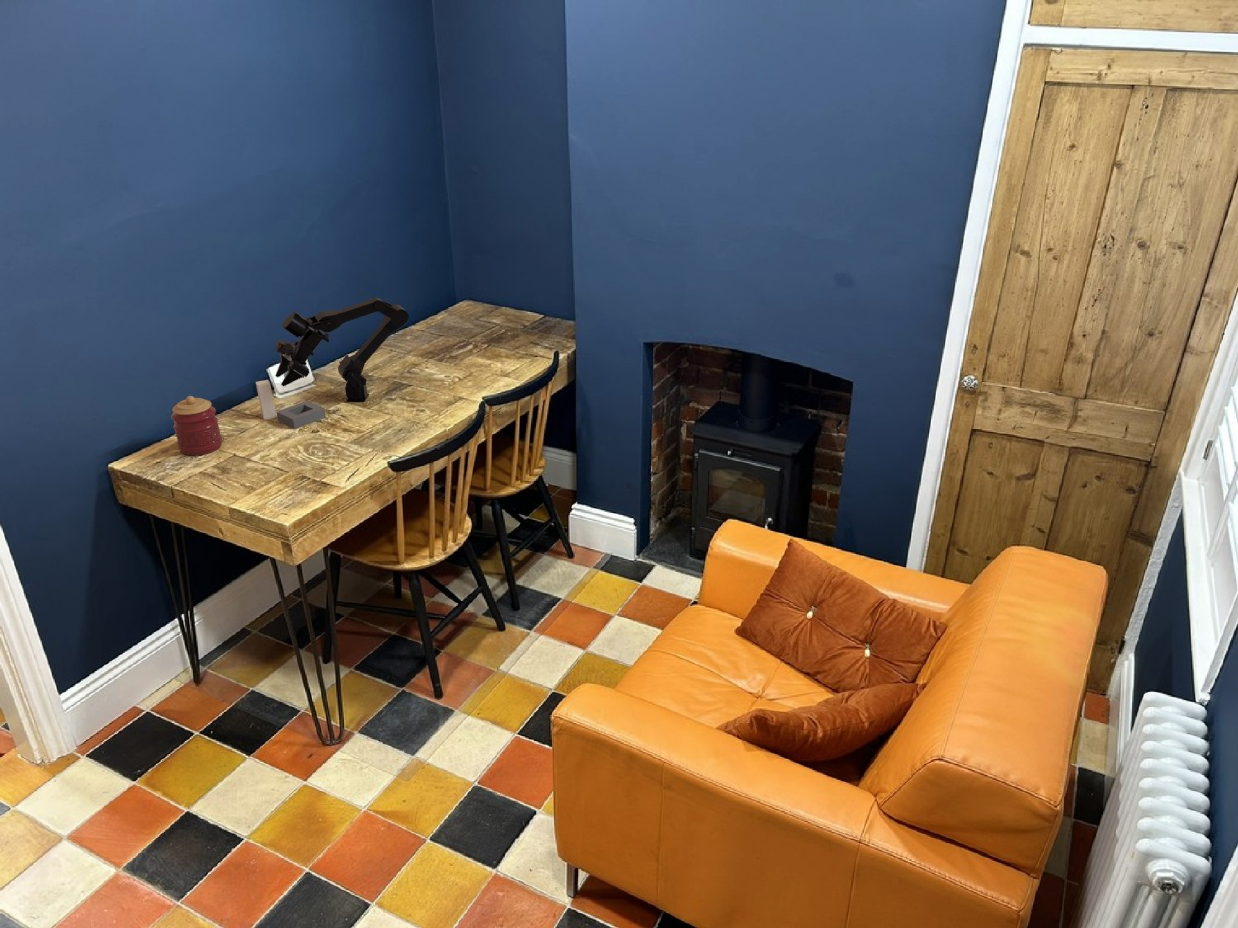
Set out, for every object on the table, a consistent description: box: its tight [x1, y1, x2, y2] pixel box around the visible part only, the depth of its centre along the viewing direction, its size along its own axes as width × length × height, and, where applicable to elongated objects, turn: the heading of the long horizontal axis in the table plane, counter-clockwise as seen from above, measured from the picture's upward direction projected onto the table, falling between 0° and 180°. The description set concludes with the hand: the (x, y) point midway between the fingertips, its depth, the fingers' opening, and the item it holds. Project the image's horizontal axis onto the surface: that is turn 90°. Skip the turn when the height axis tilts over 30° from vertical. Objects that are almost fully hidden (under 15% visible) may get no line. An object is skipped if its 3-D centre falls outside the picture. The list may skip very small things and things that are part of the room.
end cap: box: [276, 400, 327, 430], centre depth 317 cm, size 12×10×4 cm
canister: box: [170, 395, 223, 456], centre depth 296 cm, size 13×13×18 cm
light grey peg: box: [255, 379, 277, 420], centre depth 318 cm, size 4×4×12 cm
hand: (279, 381), depth 317 cm, fingers open, 9 cm apart
